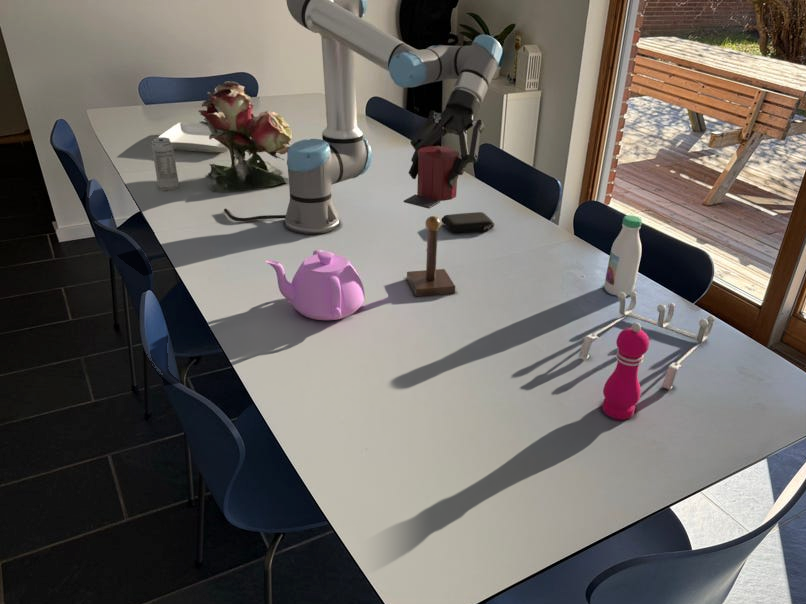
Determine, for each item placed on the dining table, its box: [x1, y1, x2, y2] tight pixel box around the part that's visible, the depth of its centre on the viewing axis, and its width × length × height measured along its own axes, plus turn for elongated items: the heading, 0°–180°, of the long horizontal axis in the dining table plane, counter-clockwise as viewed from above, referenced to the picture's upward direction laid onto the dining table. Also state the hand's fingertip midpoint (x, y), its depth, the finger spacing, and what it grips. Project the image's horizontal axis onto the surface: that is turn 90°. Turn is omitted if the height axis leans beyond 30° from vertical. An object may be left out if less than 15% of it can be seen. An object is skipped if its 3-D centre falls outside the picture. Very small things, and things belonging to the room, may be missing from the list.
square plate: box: [156, 121, 230, 154], centre depth 265 cm, size 27×27×4 cm
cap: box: [403, 145, 460, 210], centre depth 167 cm, size 14×10×11 cm, turn 153°
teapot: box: [265, 249, 366, 321], centre depth 165 cm, size 22×22×14 cm
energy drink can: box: [150, 136, 180, 191], centre depth 223 cm, size 6×6×15 cm
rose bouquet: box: [197, 80, 293, 193], centre depth 232 cm, size 26×29×30 cm
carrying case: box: [440, 211, 495, 234], centre depth 216 cm, size 11×3×15 cm
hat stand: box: [406, 215, 456, 297], centre depth 178 cm, size 10×10×19 cm
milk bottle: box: [603, 214, 643, 297], centre depth 183 cm, size 8×8×20 cm
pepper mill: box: [602, 322, 650, 420], centre depth 138 cm, size 7×7×20 cm
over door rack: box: [578, 290, 716, 391], centre depth 162 cm, size 22×29×10 cm
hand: (430, 180), depth 167 cm, fingers closed on cap, 9 cm apart
